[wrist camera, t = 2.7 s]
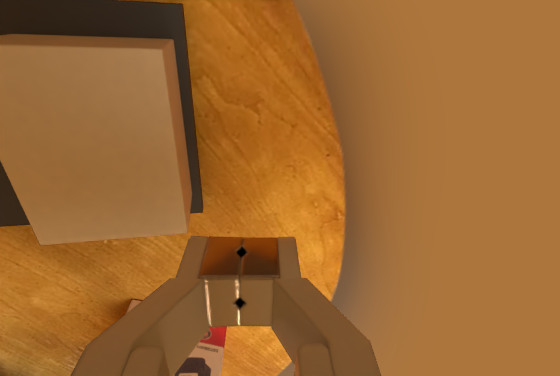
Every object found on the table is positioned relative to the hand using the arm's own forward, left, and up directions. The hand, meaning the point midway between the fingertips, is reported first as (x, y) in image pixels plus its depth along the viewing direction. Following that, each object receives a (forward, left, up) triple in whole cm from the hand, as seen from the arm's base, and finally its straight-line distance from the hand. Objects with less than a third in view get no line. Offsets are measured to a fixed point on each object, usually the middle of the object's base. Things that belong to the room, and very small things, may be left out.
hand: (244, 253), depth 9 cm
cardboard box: (0, -7, -10) cm, 12 cm away
